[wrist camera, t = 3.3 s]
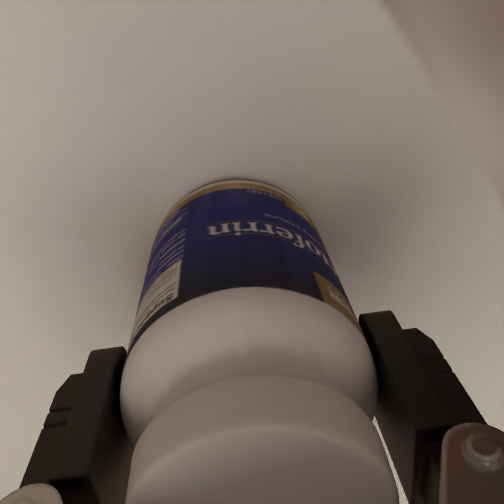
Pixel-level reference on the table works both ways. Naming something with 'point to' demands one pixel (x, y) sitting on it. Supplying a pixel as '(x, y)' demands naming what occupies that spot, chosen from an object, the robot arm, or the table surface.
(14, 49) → the table surface
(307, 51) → the table surface
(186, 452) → the pill bottle
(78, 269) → the table surface
